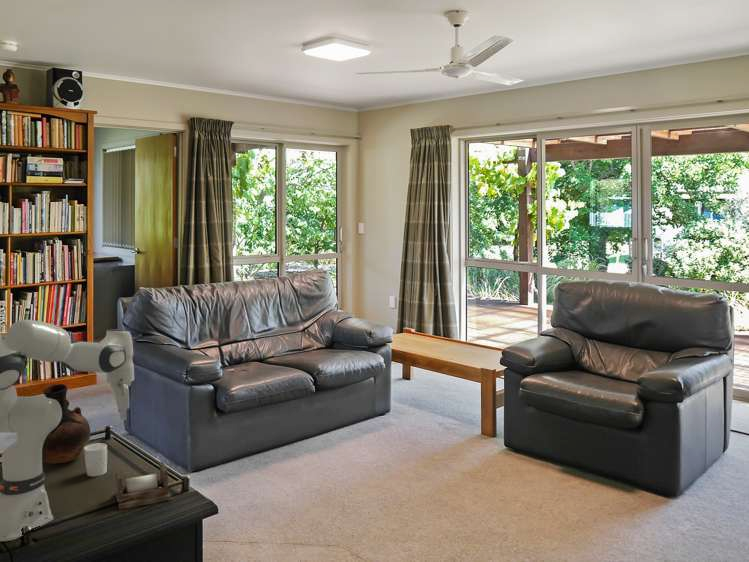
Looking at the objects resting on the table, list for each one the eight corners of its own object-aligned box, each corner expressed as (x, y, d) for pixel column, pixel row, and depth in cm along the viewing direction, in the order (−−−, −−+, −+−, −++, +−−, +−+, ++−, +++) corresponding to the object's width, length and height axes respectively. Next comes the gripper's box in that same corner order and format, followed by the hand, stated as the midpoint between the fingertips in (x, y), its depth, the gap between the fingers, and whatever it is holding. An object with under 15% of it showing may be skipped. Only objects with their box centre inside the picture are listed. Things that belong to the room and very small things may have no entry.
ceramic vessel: (84, 448, 277) (80, 376, 274) (98, 461, 264) (94, 384, 261) (27, 461, 264) (22, 385, 261) (39, 475, 251) (34, 395, 247)
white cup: (112, 469, 255) (110, 443, 254) (101, 477, 248) (100, 450, 247) (92, 468, 256) (90, 442, 255) (81, 477, 248) (79, 450, 247)
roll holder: (119, 509, 221) (117, 481, 220) (115, 494, 233) (114, 467, 232) (170, 500, 228) (169, 472, 227) (164, 485, 240) (163, 459, 239)
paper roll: (127, 497, 226) (126, 480, 226) (126, 494, 231) (125, 477, 231) (158, 491, 230) (157, 474, 230) (156, 488, 235) (155, 472, 235)
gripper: (133, 381, 224) (134, 423, 225) (127, 368, 243) (129, 406, 244) (112, 384, 221) (114, 425, 223) (108, 370, 240) (110, 409, 241)
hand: (122, 415), depth 234 cm, fingers open, 8 cm apart
